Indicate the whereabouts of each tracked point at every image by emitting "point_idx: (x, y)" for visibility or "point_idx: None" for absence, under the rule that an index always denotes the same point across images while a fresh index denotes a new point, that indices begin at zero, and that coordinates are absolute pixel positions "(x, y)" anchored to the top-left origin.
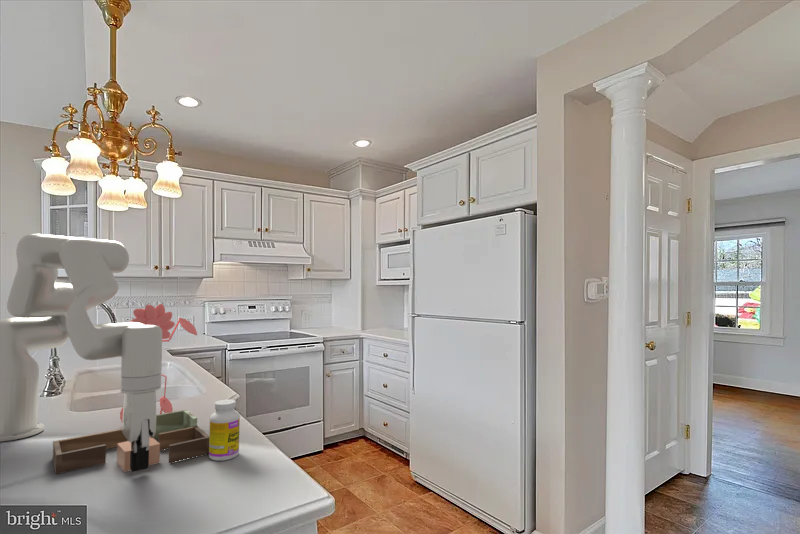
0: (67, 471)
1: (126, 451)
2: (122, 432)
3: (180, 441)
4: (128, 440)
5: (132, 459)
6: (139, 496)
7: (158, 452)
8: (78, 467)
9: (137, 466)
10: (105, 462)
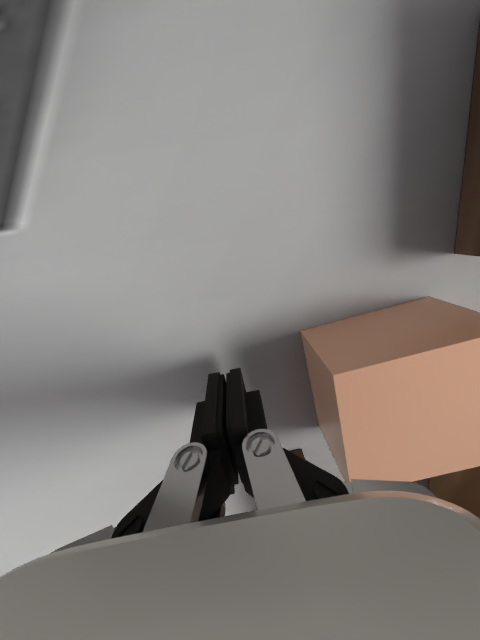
0: (475, 75)
1: (336, 381)
2: (373, 500)
3: (444, 489)
4: (3, 581)
5: (204, 410)
6: (44, 388)
7: (333, 456)
8: (476, 130)
9: (198, 405)
10: (456, 253)
